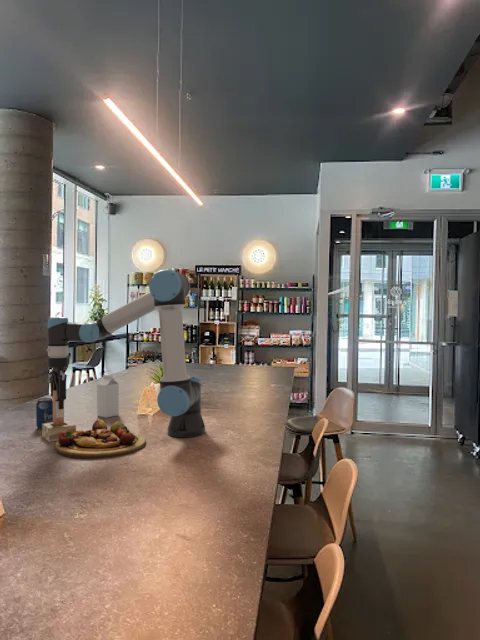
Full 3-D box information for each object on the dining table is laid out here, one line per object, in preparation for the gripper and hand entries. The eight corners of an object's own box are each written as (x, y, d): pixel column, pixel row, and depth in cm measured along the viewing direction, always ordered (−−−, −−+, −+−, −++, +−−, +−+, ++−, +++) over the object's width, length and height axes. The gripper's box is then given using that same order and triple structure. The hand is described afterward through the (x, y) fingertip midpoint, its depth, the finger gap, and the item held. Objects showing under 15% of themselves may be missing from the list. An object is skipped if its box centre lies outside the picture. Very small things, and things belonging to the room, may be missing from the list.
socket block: (76, 437, 191) (75, 424, 191) (49, 441, 185) (49, 428, 185) (67, 432, 199) (67, 420, 199) (42, 436, 193) (42, 423, 193)
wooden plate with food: (50, 463, 160) (50, 438, 160) (59, 437, 191) (59, 416, 191) (149, 457, 169) (149, 433, 168) (142, 433, 199) (143, 413, 199)
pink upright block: (65, 426, 192) (65, 390, 191) (54, 427, 189) (54, 391, 189) (62, 424, 195) (61, 389, 194) (51, 425, 192) (51, 390, 192)
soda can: (48, 430, 203) (47, 401, 203) (33, 429, 205) (32, 400, 204) (57, 426, 210) (57, 398, 210) (42, 425, 211) (42, 397, 211)
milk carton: (106, 418, 225) (106, 376, 225) (97, 416, 229) (96, 375, 229) (119, 415, 231) (118, 375, 230) (109, 413, 235) (109, 374, 235)
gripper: (42, 355, 196) (42, 413, 196) (54, 359, 182) (55, 421, 183) (61, 354, 200) (61, 411, 201) (74, 357, 187) (75, 418, 187)
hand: (58, 416), depth 192 cm, fingers closed on pink upright block, 4 cm apart
